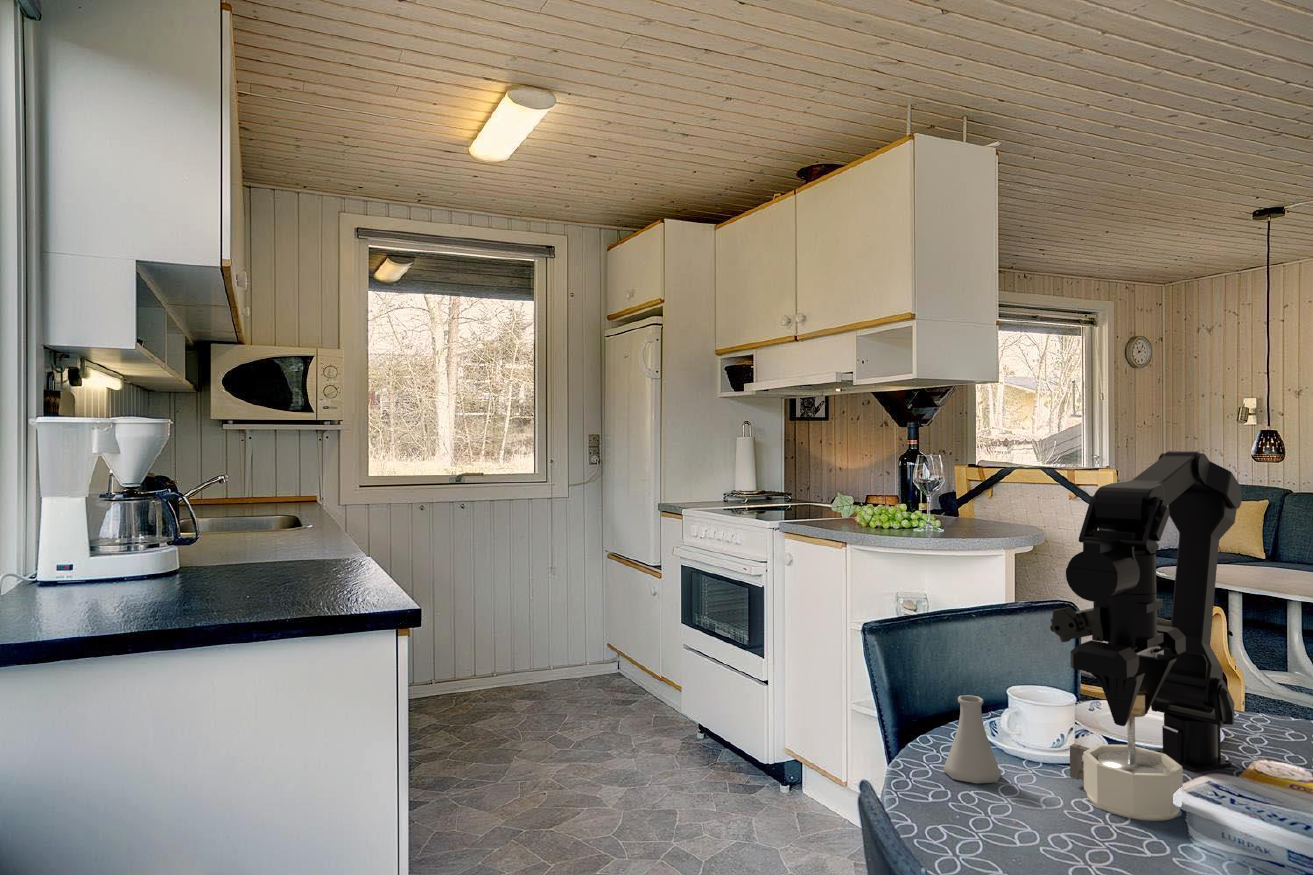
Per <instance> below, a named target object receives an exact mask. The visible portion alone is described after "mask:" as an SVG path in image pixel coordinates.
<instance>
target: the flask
mask: <svg viewBox="0 0 1313 875" xmlns="http://www.w3.org/2000/svg"><path fill="white" fill-rule="evenodd" d="M957 703H959V705H960V707H959V709H960V710H959V711H960V712H959V713H960V714H959V719H958V726H957V729H956V732H955V736H954V738H953V741H952V744H951V747H950V751H949V752H948V755H947V759H946V761H945V764H944V766H943V770H942V771H943V772H944V773H945V774H947V775H948V776H949V777H950V779H953V780H955V781H961V782H967V783H971V784H972V783H973V784H988V783H989V784H990V783H991V784H992V783H998V782H999V780H1000V777H1001V775H1002V774H1001V770H1000V768H999V765H998V762H997V760H996V758H995V755H994V752H993V749H992V747H991V744H990V741H989V738H988V735H987V733H986V729H985V727H984V726H985V725H984V721H983V716H982V715H983V714H982V706H983V705H984V699H983V698H982V697H980V696H978V695H977V696H976V695H970V694H965V695H959V696H958V697H957Z"/></svg>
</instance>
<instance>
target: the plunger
mask: <svg viewBox="0 0 1313 875" xmlns="http://www.w3.org/2000/svg"><path fill="white" fill-rule="evenodd" d="M1145 716H1146V715H1145V694H1144V693H1142V692H1139V691H1138V694H1137V697H1136V700H1135V703H1134V705H1133V708H1132V711H1131V714H1130V716H1129V719H1128V721H1127V724H1126V726H1127V733H1126V734H1127V745H1128V753H1127V752H1107V753H1103V754H1101V755H1099V756H1098V761H1099V762H1100V763H1101V764H1103V765H1107V766H1110V767H1114V768H1118V769H1121V770H1125V771H1128V772H1132V773H1162V774H1165V773H1166V772H1167V768H1166V766H1165V765H1164V764H1163V763H1161V762H1160V761H1158V760H1156V759H1153V758H1150V757H1147V756H1144V755H1140V754H1135V746H1136V718H1142V717H1145Z"/></svg>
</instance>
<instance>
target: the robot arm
mask: <svg viewBox="0 0 1313 875" xmlns="http://www.w3.org/2000/svg"><path fill="white" fill-rule="evenodd" d="M1242 495H1243V493H1242V486H1241V485H1240V483H1239V481H1238V480H1237V479H1236V477H1235V475H1234V474H1233V472H1232V471H1230V470H1228V469H1226V467H1225V468H1224V467H1222V466H1220V465H1219V464H1217V463H1214V462H1213V461H1210V459H1209V458H1208V457H1207V455H1206V454H1205V453H1200V452H1199V451H1197V450H1196V451H1192V450H1191V451H1189V450H1188V451H1177V450H1176V451H1173V450H1171V451H1169V450H1168V451H1166V452H1161V453H1160V455H1159V457H1158V460H1157V461H1155V462H1153V463H1152V464H1151V465H1150V466H1148V467H1147V468H1146V469H1145V470H1143V471H1142V472H1140V473H1139V474H1138V475H1137V476H1136V477H1134V478H1133V479H1131V480H1128V481H1121V482H1120V481H1119V482H1113V483H1112V482H1111V483H1109V484H1106V485H1102V486H1099V488H1097V490H1096V491H1095V492H1094V494H1093V495H1092V496H1091V498H1090V501H1089V503H1088V507H1087V510H1086V513H1085V517H1084V520H1083V523H1082V526H1081V529H1080V533H1079V536H1078V542H1079V543H1080V544H1081V543H1082V551H1081V552H1078V553H1077V554H1075V555H1074V556H1072V557H1071V559H1070V560H1069V561H1068V564H1067V568H1066V569H1065V579H1066V582H1067V584H1068V586H1069V588H1070V589H1071V591H1072V592H1073V593H1074V594H1076V596H1078V597H1079V598H1080V599H1083V600H1086V601H1088V602H1092V603H1093V604H1092V606H1093V607H1091V608H1088V609H1082V610H1078V611H1075V610H1074V609H1073V608H1072V607H1070V606H1067V607H1064V608H1058V609H1055V610H1053V611H1052V617H1051V618H1050V622H1051V625H1050V626H1049V629H1050V631H1051V632H1052V633H1054V634H1056V635H1057V636H1058V637H1059V640H1060V642H1061V643H1067V642H1070V641H1071V640H1074V639H1079V638H1085V637H1086V638H1087V637H1090V636H1091V639H1090V640H1088V641H1085V642H1083V643H1080V644H1078V645H1076V646H1075V647H1074V648H1073V649H1071V651H1070V668H1072V669H1073V670H1078V671H1083V672H1086V673H1089V674H1091V675H1092V676H1093V677H1094V678H1095V679H1097V681H1098V682H1099V683H1100V686H1101V689H1102V691H1103V693H1104V697H1105V699H1106V703H1107V705H1108V707H1109V711H1110V714H1111V717H1112V718H1113V719H1112V720H1113V722H1114V724H1115V725H1117V726H1120V727H1125V726H1127V721H1128V719H1129V716H1130V714H1131V711H1132V708H1133V705H1134V703H1135V700H1136V697H1137V694H1138V691H1139V692H1142V693H1144V694H1145V716H1146V715H1147V714H1148V713H1149V710H1151V711H1152V712H1156V713H1157V712H1159V713H1163V725H1162V731H1161V732H1162V749H1155V750H1154V751H1155V752H1159V753H1163V754H1166V755H1167V756H1169V757H1170V758H1171V759H1173V760H1174V761H1175V762H1177V763H1178V764H1179V765H1181V766H1182V768H1183V767H1184V768H1186V769H1188V770H1190V771H1194V772H1198V771H1199V772H1200V771H1205V770H1212V769H1213V770H1214V769H1219V768H1220V769H1222V768H1226V767H1232V761H1230V760H1228V759H1225V758H1223V757H1222V750H1221V749H1222V747H1221V746H1222V745H1221V744H1222V742H1221V738H1222V737H1221V733H1222V732H1221V727H1223V726H1224V725H1225V726H1229V725H1231V726H1232V725H1234V724H1235V713H1236V712H1235V701H1234V699H1233V697H1232V695H1231V693H1230V691H1229V688H1228V686H1227V684H1226V681H1225V680H1224V678H1223V675H1224V674H1223V672H1224V671H1223V670H1224V668H1223V666H1222V665H1221V662H1220V660H1219V659H1218V657H1217V655H1216V654H1215V651H1214V649H1213V648H1212V647H1211V640H1212V638H1211V637H1212V627H1213V616H1214V615H1213V614H1214V604H1215V592H1216V582H1217V581H1216V580H1217V569H1218V568H1217V567H1218V555H1219V547H1220V546H1219V544H1220V540H1221V539H1222V537H1224V536H1225V534H1226V533H1227V532H1228V531H1229V530H1230V529H1231V528H1232V527H1233V526H1234V525H1235V523H1236V522H1235V521H1236V516H1237V510H1238V509H1240V507H1241V504H1242V500H1243V496H1242ZM1169 518H1170V519H1171V521H1172V522H1173V524H1174V526H1175V528H1176V529H1177V531H1178V547H1177V558H1176V566H1175V567H1176V568H1175V575H1174V576H1175V579H1174V586H1173V587H1174V590H1173V598H1172V610H1171V611H1172V612H1171V618H1170V619H1171V621H1170V626H1169V625H1168V626H1167V625H1161V624H1158V612H1157V611H1158V610H1161V609H1163V608H1164V599H1162V598H1157V554H1156V552H1157V551H1158V550H1159V549H1160V546H1159V544H1158V542H1161V539H1162V537H1163V536H1162V535H1163V533H1164V530H1165V527H1166V525H1167V522H1168V520H1169ZM1150 708H1151V709H1150Z"/></svg>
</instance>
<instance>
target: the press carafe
mask: <svg viewBox="0 0 1313 875" xmlns="http://www.w3.org/2000/svg"><path fill="white" fill-rule="evenodd" d="M1107 752H1127V753H1128V744H1100V743H1099V744H1096V745H1094V746H1092V747H1087V746H1084V745H1081V744H1077V743H1072V744H1070V745H1069V776H1070V778H1071V779H1074V780H1078V781H1079V780H1080V781H1083V790H1084V791H1085V792H1086V797H1087V799H1088V801H1089V802H1090V803H1091V804H1092V805H1094V806H1096V807H1097V808H1099V809H1100V810H1103V811H1105V812H1108V813H1110V814H1112V815H1116V816H1121V817H1124V818H1127V819H1134V820H1138V821H1139V820H1140V821H1147V822H1148V821H1149V822H1161V821H1168V820H1173V819H1176V818H1178V817H1179V815H1180V814H1181V808H1178V807H1176V806H1175V805H1174V804H1173V794H1174V793H1175V792H1176V791H1177V790H1178V789H1179V788H1181V787H1183V788H1184V785H1183V784H1184V782H1183V780H1184V778H1183V776H1184V775H1183V771H1184V770H1183V766H1181V765H1179V764H1178V763H1177V762H1175V761H1174V760H1173V759H1171V758H1170V757H1169V756H1167V755H1166V754H1163V753H1159V752H1155V750H1152V749H1146V748H1144V747H1139V746H1136V745H1135V754H1140V755H1144V756H1147V757H1150V758H1153V759H1156V760H1158V761H1160V762H1161V763H1163V764H1164V765H1165V766H1166V768H1167V772H1166V773H1165V774H1162V773H1132V772H1128V771H1125V770H1121V769H1118V768H1114V767H1110V766H1107V765H1103V764H1101V763H1100V762H1099V761H1098V756H1099V755H1101V754H1103V753H1107Z"/></svg>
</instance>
